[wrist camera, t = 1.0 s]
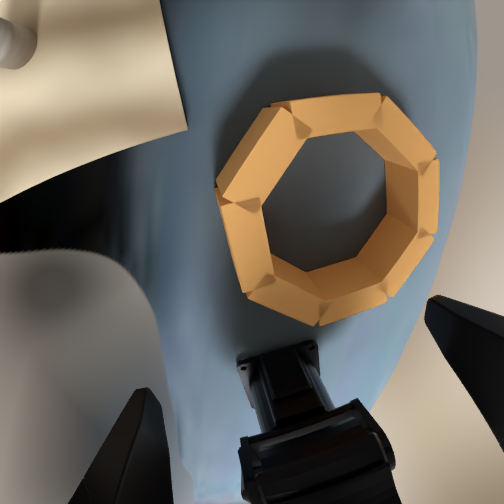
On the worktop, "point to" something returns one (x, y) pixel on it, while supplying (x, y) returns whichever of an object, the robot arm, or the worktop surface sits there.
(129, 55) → the hook stand
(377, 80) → the worktop surface
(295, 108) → the orange octagonal ring
